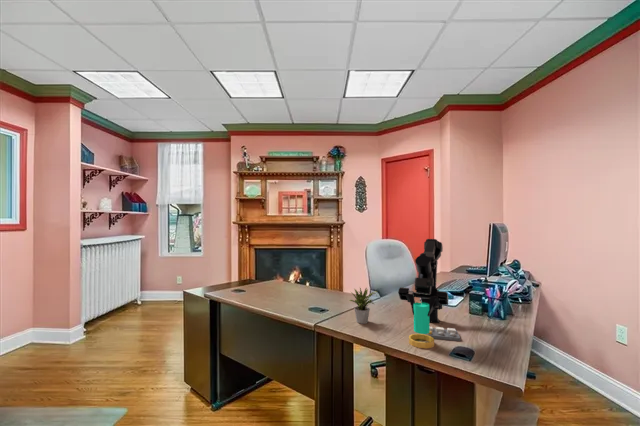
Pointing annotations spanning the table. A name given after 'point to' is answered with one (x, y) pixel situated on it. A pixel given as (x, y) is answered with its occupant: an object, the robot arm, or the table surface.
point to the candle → (421, 318)
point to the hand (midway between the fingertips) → (420, 315)
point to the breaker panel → (444, 333)
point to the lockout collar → (421, 344)
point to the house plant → (362, 306)
